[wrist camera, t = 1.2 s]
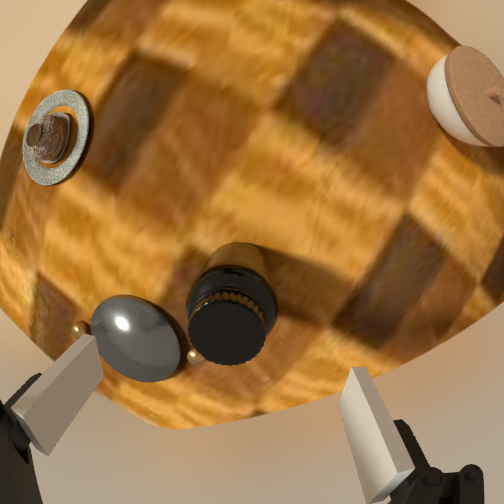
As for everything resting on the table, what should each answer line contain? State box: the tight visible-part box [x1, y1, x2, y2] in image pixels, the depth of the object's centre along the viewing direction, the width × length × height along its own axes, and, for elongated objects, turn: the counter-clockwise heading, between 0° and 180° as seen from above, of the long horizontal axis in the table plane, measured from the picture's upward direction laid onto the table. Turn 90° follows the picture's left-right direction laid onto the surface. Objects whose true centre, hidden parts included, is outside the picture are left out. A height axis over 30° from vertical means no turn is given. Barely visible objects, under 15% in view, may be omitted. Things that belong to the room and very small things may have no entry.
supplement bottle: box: [186, 242, 279, 366], centre depth 22 cm, size 7×7×12 cm
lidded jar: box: [427, 46, 504, 147], centre depth 17 cm, size 11×11×9 cm
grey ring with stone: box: [23, 90, 89, 185], centre depth 22 cm, size 12×12×5 cm
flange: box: [72, 295, 205, 382], centre depth 29 cm, size 12×18×2 cm, turn 85°
